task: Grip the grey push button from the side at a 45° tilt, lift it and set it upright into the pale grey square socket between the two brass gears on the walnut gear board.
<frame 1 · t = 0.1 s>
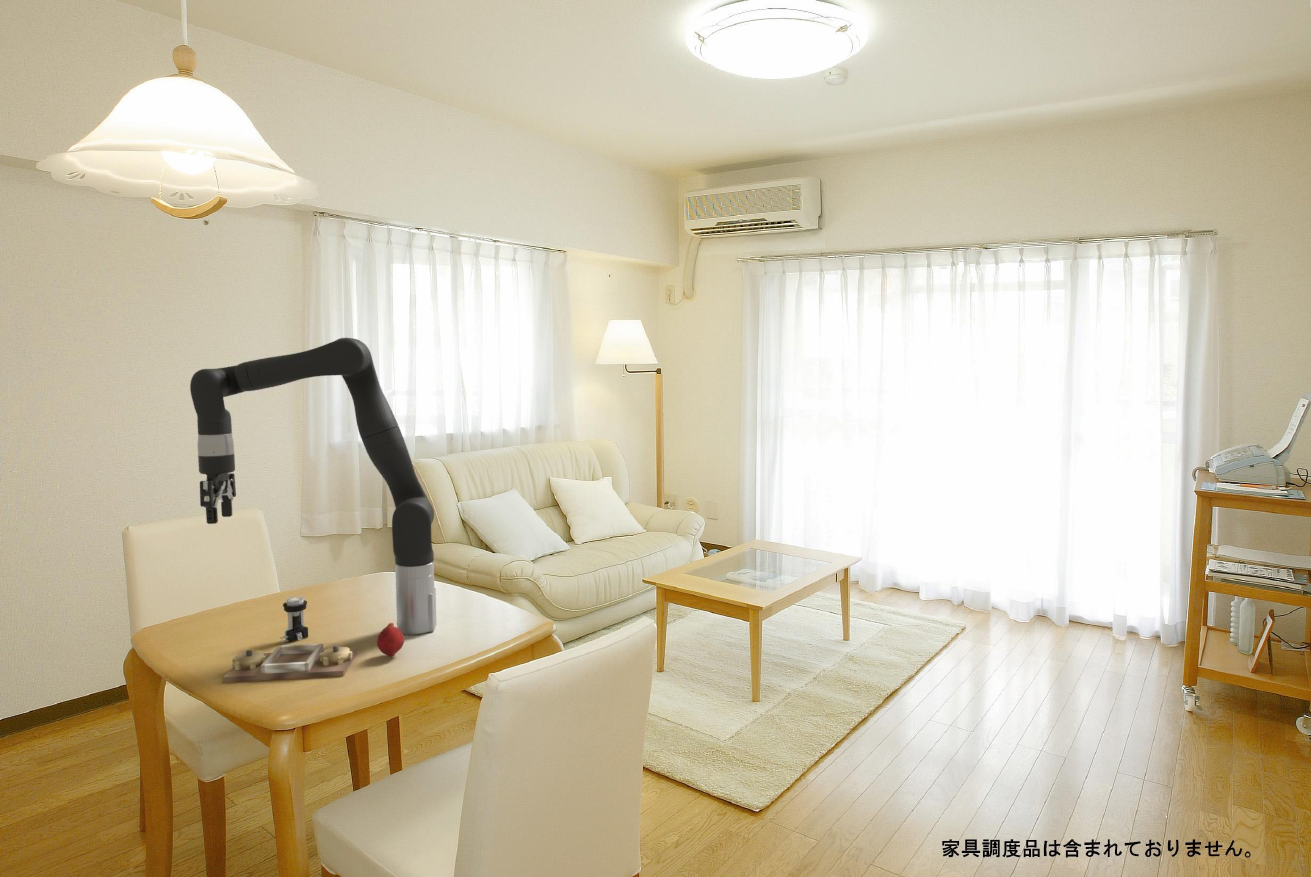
hand: (220, 519, 184), 29 cm above the table, tool pointing down, fingers open, 8 cm apart
gear board: (293, 667, 169), on the table
onion: (390, 657, 176), on the table
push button: (294, 640, 186), on the table
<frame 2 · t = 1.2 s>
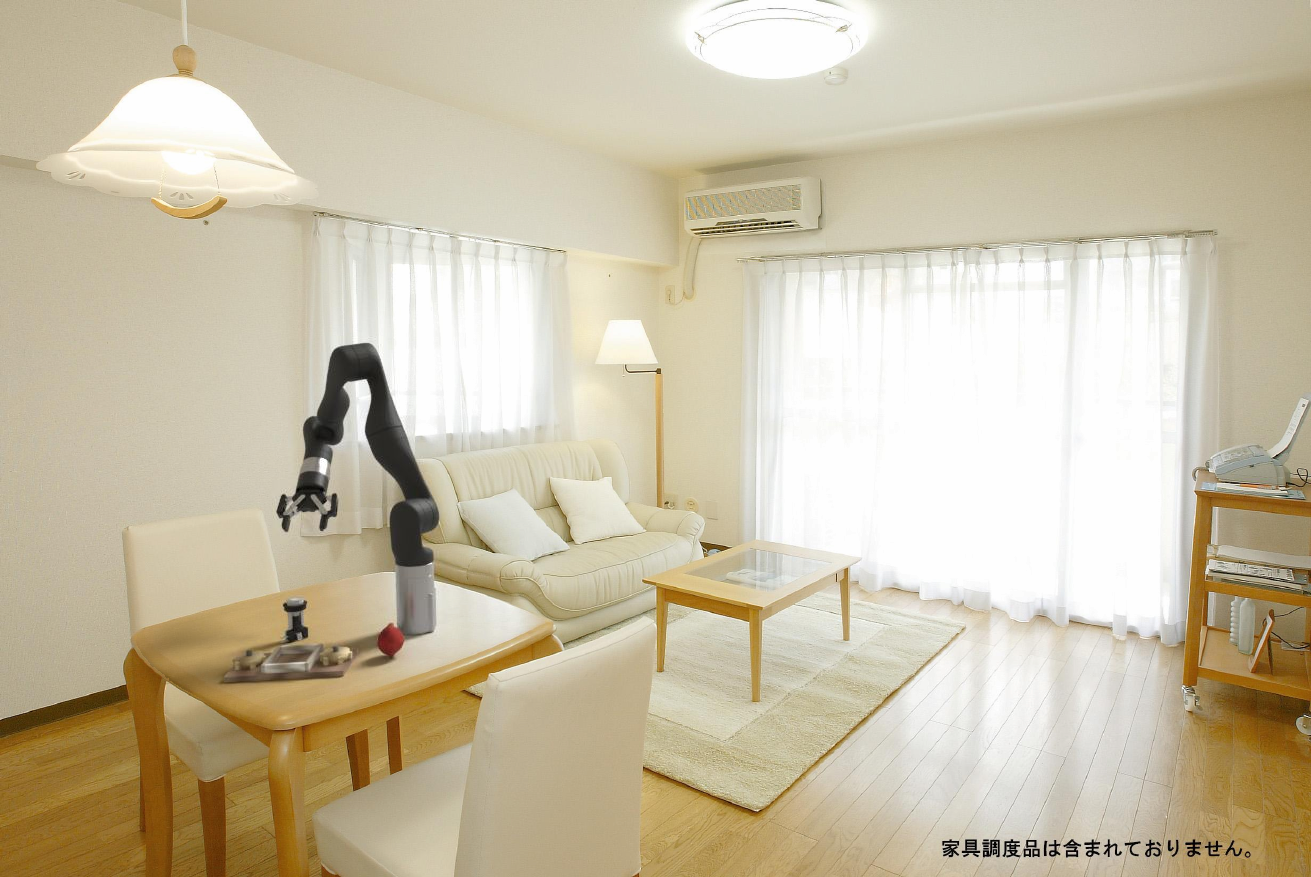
hand: (303, 530, 194), 25 cm above the table, tool tilted 45°, fingers open, 8 cm apart
nothing on the table moved.
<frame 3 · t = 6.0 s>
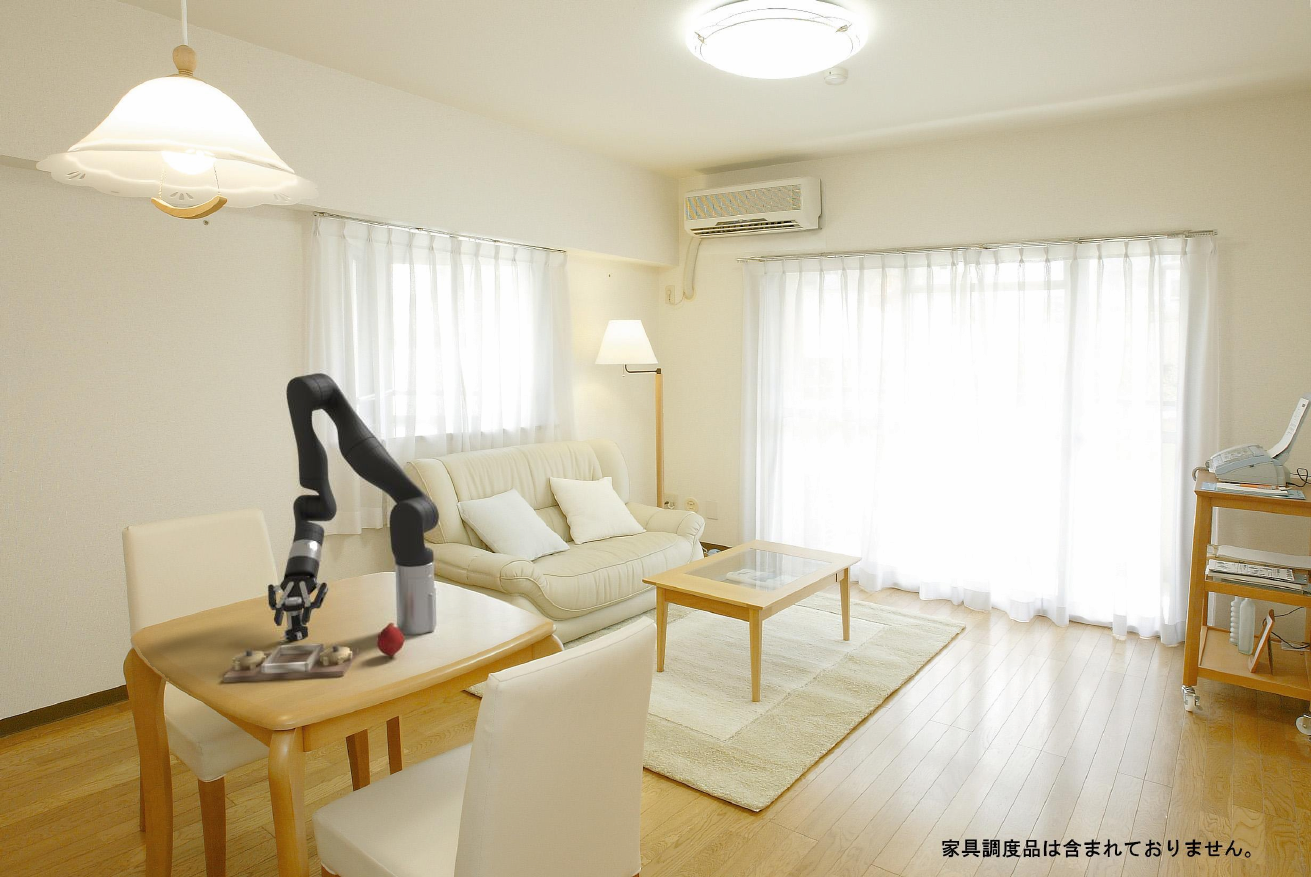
hand: (291, 623, 183), 5 cm above the table, tool tilted 45°, fingers closed on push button, 5 cm apart
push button: (294, 640, 186), on the table, touching gripper
everything else where it was.
when the fingers open (7 cm above the table, at t = 11.7 s): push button drops 1 cm, resting on gear board.
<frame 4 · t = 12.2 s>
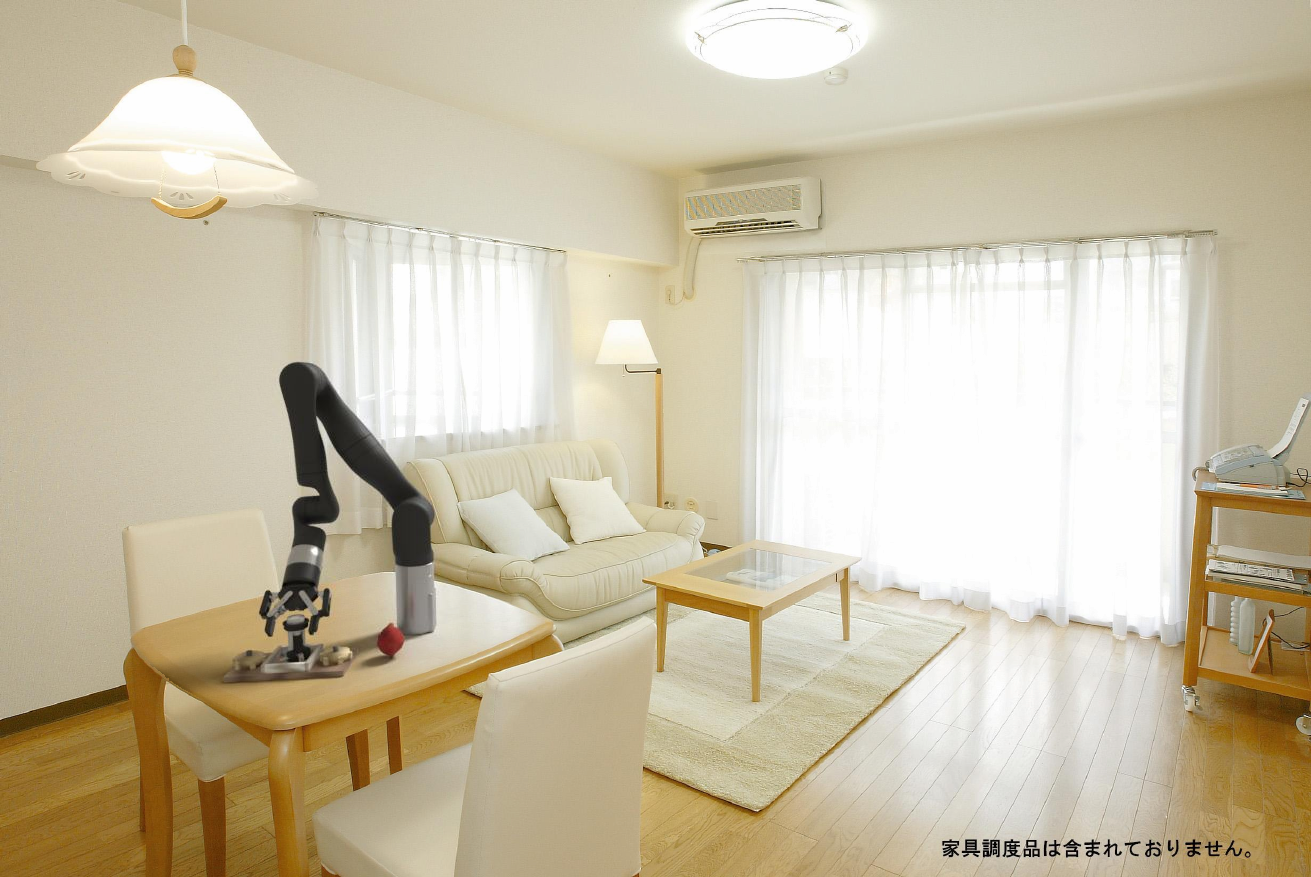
hand: (290, 634, 167), 8 cm above the table, tool tilted 45°, fingers open, 8 cm apart
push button: (295, 662, 169), point 1 cm above the table, touching gear board
everything else where it was.
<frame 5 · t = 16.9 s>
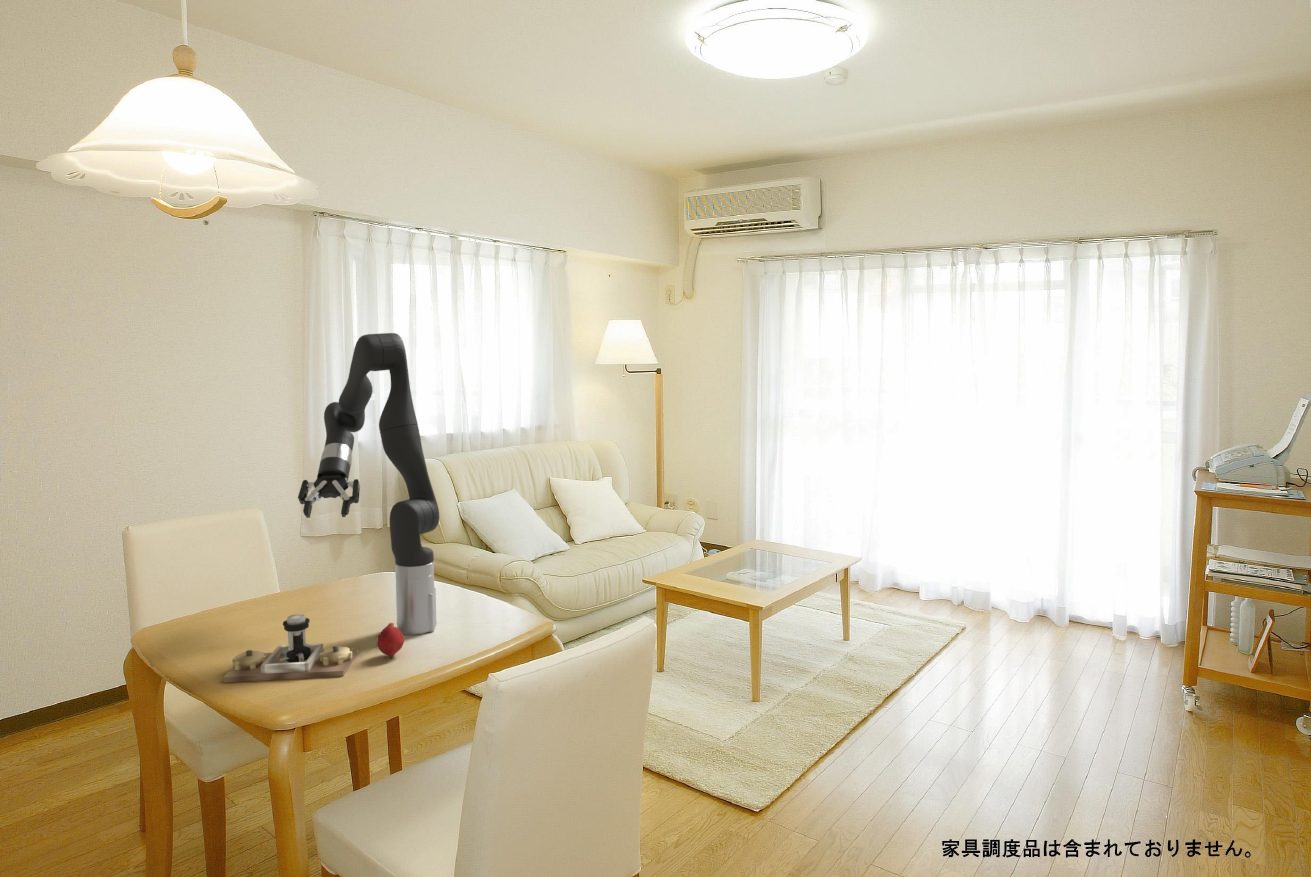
hand: (325, 515, 192), 29 cm above the table, tool tilted 45°, fingers open, 8 cm apart
nothing on the table moved.
at the end: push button 0.3 cm off-centre on the gear board, point 1.0 cm above the gear board's base; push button tilted 0°; the gripper is holding nothing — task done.
